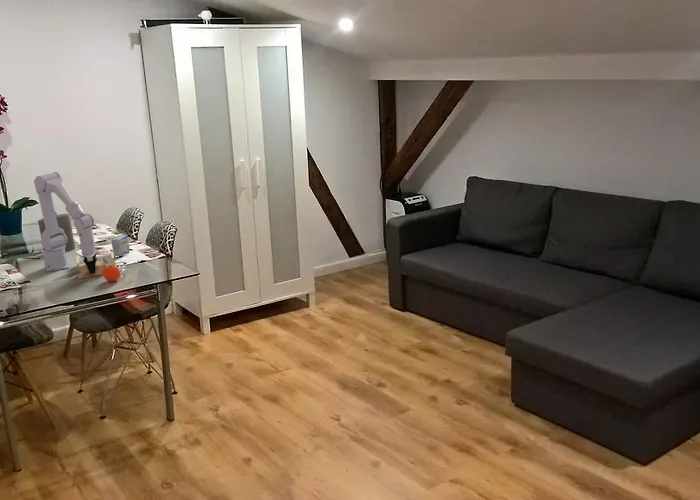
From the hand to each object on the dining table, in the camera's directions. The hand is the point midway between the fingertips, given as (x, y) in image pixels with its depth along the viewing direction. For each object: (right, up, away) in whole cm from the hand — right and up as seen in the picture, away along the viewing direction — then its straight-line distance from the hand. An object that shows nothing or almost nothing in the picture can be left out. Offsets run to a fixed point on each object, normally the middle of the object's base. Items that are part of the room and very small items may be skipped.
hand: (92, 271), depth 308 cm
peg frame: (-2, +2, +11) cm, 11 cm away
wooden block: (0, -1, 0) cm, 2 cm away
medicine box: (+5, +7, +26) cm, 27 cm away
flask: (-28, +9, +34) cm, 45 cm away
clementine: (+12, -4, -8) cm, 15 cm away
